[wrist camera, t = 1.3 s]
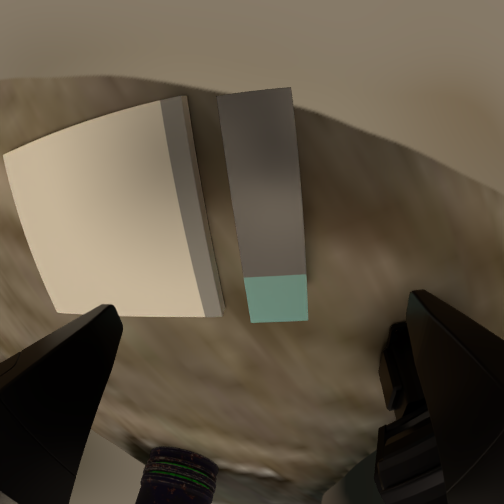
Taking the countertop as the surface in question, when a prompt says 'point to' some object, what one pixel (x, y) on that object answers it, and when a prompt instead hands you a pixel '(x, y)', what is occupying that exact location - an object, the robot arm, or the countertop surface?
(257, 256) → the marker
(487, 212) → the countertop surface
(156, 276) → the notepad
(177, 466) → the storage jar
